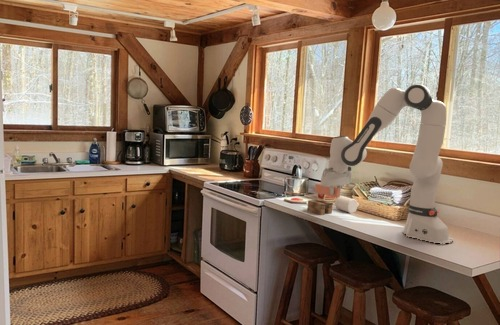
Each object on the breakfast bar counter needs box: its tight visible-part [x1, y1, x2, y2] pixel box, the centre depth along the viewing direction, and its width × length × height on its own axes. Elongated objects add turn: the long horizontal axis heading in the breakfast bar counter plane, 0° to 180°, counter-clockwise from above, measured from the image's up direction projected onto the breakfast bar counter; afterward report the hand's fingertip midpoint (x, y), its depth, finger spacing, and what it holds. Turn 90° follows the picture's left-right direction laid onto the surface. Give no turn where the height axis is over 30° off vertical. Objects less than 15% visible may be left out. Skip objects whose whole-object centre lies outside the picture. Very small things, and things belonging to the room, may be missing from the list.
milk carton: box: [316, 182, 337, 202], centre depth 281 cm, size 9×9×20 cm
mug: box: [334, 195, 360, 214], centre depth 255 cm, size 12×10×8 cm
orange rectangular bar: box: [314, 183, 341, 199], centre depth 233 cm, size 15×2×4 cm, turn 40°
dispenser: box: [306, 198, 334, 216], centre depth 246 cm, size 10×9×6 cm
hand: (334, 193), depth 229 cm, fingers closed on orange rectangular bar, 2 cm apart
